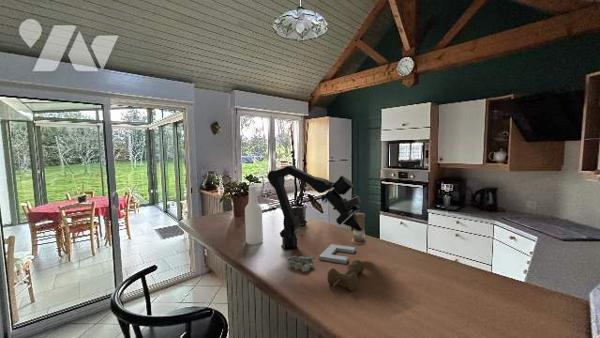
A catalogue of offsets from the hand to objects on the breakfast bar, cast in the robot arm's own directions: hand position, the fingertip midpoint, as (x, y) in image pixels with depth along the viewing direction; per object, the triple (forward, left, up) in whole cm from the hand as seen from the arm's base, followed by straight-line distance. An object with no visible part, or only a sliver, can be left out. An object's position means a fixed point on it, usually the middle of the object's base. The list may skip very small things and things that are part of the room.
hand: (362, 228), depth 116 cm
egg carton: (-27, +6, -14) cm, 31 cm away
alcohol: (-35, +44, -14) cm, 58 cm away
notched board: (-7, +9, -13) cm, 17 cm away
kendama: (-18, -14, -14) cm, 27 cm away
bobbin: (-1, +1, -7) cm, 7 cm away
